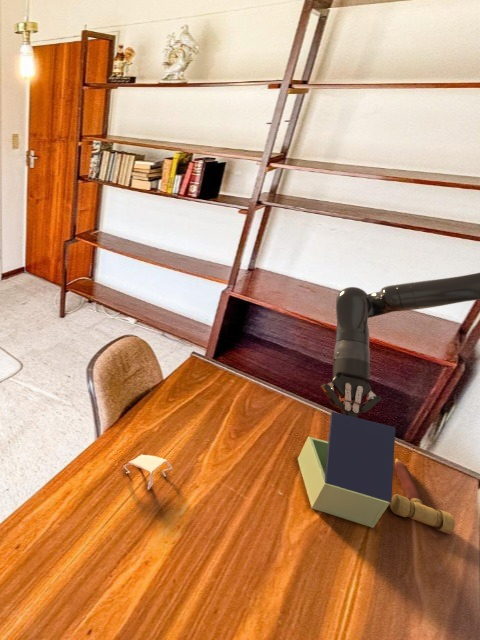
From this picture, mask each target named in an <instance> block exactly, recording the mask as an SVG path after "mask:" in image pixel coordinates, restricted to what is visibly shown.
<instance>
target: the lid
mask: <svg viewBox="0 0 480 640" xmlns="http://www.w3.org/2000/svg"><path fill="white" fill-rule="evenodd" d="M395 441H396V426H392V425H388V424H384V423H379V422H375V421H371V420H367V419H364V418H359V417H357V418H356V417H352V416H348V415H344V414H341V413H339V412H336V411H330V419H329V431H328V440H327V442H328V452H327V463H326V475H325V483H327V484H330V485H334V486H337V487H340V488H344V489H347V490H350V491H354V492H357V493H361V494H364V495H367V496H371V497H374V498H377V499H381V500H384V501H387V502H389V503H391V502H392V497H393V484H394V465H395V445H396V444H395V443H396V442H395Z"/></svg>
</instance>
